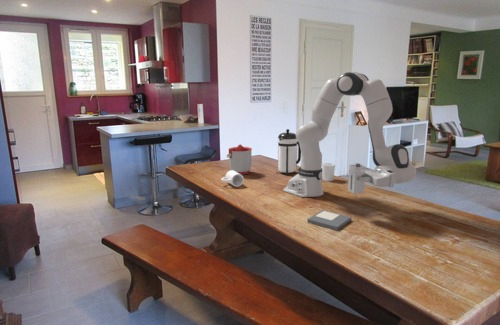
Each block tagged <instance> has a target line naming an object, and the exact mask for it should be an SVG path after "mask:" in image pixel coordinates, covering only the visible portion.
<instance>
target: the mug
mask: <svg viewBox="0 0 500 325" xmlns="http://www.w3.org/2000/svg"><path fill="white" fill-rule="evenodd" d="M244 179H245V178H244V175H241V174H239V173H237V172H236V171H234V170H231V169H230V170H229V171H227V172H226V174H225V176H224V177H222V178H221V181H222V182H224V183H229V184H230V185H231V186H233V187H236V188H239V187H241V186H242V185H243V184H244V181H245V180H244Z"/></svg>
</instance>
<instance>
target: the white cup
mask: <svg viewBox="0 0 500 325" xmlns="http://www.w3.org/2000/svg"><path fill="white" fill-rule="evenodd" d="M335 168H336V164H335V163H333V162H331V163H330V162H324V163H322V181H323V182H324V181H325V182H333V181H334V178H335V177H334V176H335V170H336V169H335Z"/></svg>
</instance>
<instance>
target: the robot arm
mask: <svg viewBox="0 0 500 325" xmlns="http://www.w3.org/2000/svg"><path fill="white" fill-rule="evenodd" d="M343 96H348V97H349V96H350V97H355V96H361V97H362V99H363V101H364V104H365V106H366V112H367V118H368V121H367V127H368V132H369V138H370V142H371V143H370V144H371V146H372V161H373V164H374V165H375V166H376V167H374V169H372V168H370V167H366V169H365V177H358V181H360V182H365V183H368V184H371V185H373V186H375V187H378V188H386V187H387V188H394V185H395V184H397V185H399V184H407V183H409V182H412V181H413V180H415V178H416V175H417V168H416V167H415V165H414V164H413V163H412V161H411V159H410V155H409V151H408V149H407V147H406V146H404V145H403V144H400V143H397V144H393V145H389V146H387V145H386V142H385V137H384V131H383V130H384V125H385V124H386V122H387V121H388V120H389V119H390V117H391V116H392V114H393V110H394V109H393V103H392V100H391V97H390V95H389V91H388V90H387V87H386V86H385V84H384V82H383V80H381V79H379V78H371V79H369V77H368V76H367V75H366V74H363V73H360V72H356V71H353V72H345V73H342V74H341V75H340V76H338V78H335V77H334V78H333V77H331V78H329V79H328V80H326V82H325V83H324V85H323V86H322V88H321V90H320V92H319V93H318V95H317V98H316V100H315V102H314V105H313V107H312V109H311V111H312V112H311V116H310V120H309V122H308V123H305V124H303V125H301V126H300V127H298V128H297V130H296V132H295V134H296V139H297V141H298V142H299V144H300V149H301V159H300V167H298V168H297V170H296V172H297V173H296V174H295V175H294V176H293V177H291V178H290V179H289V180H288V182H287V186H285V187H283V192H284V193H288V194H291V195H295V196H297V197H300V198H307V197H311V198H315V197H321V196H323V195H324V194H325V193H324V189H323V182H322V181H323V180H322V164H323V163H322V162H323V154H322V152H321V148H320V142H321V141H323V140H324V139H325V138H326V137H327V135H328V132H329V127H330V124H331V121H332V118H333V116H334V114H335V112H336V111H337V108H338V106H339V104H340V102H341V100H342V99H343Z"/></svg>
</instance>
